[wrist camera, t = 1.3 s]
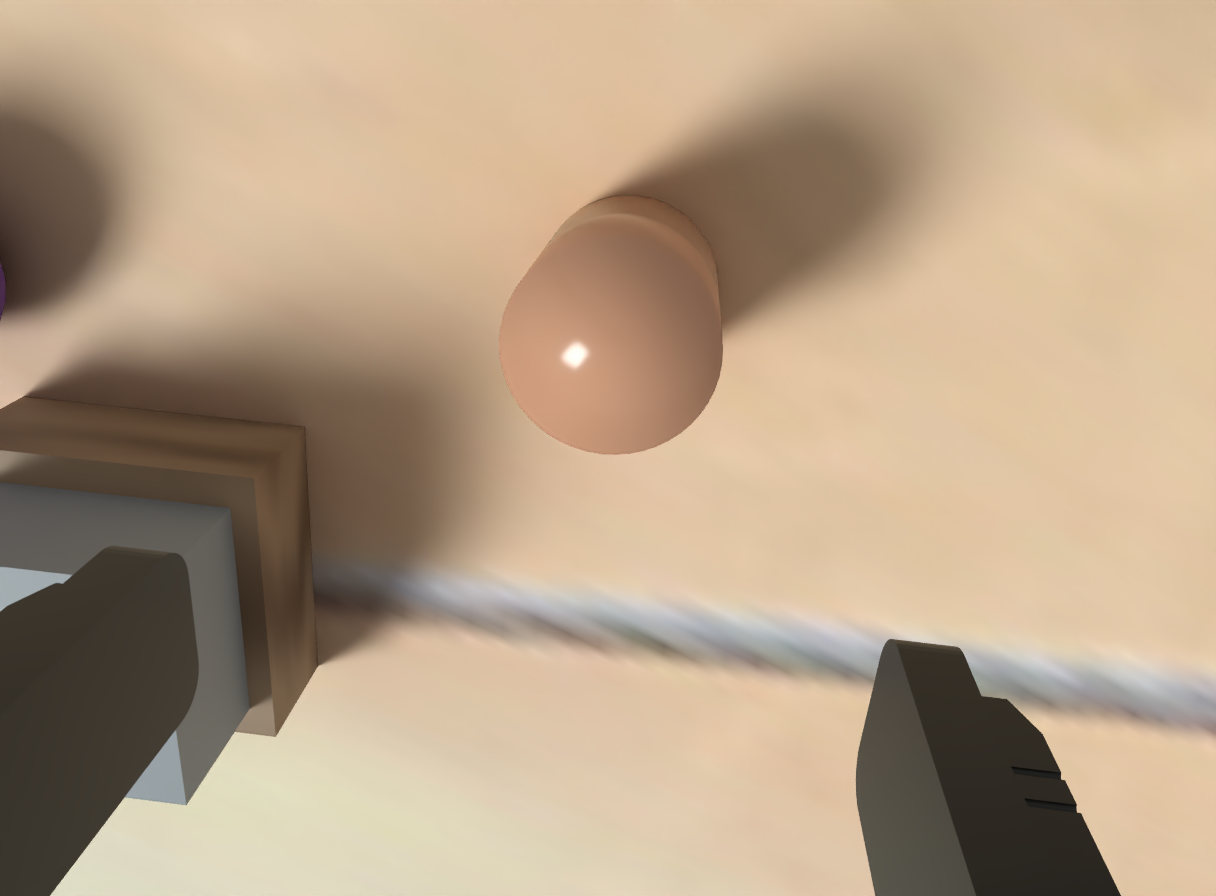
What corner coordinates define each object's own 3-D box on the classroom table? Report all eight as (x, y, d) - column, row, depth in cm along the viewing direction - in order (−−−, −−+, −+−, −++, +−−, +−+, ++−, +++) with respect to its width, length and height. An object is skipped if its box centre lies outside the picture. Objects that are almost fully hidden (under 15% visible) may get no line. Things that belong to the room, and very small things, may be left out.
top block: (-12, 480, 27) (-123, 552, 23) (230, 508, 27) (155, 584, 23) (31, 681, 30) (-63, 773, 26) (249, 708, 29) (186, 805, 26)
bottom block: (30, 392, 30) (-62, 443, 26) (308, 422, 30) (254, 478, 26) (73, 629, 34) (-2, 702, 30) (321, 659, 33) (275, 736, 30)
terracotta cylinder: (544, 187, 26) (502, 228, 20) (729, 204, 26) (736, 251, 20) (536, 362, 28) (495, 442, 22) (707, 379, 28) (708, 465, 22)
